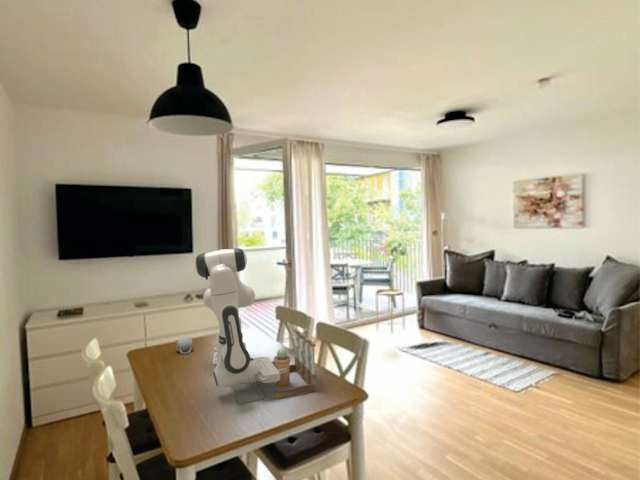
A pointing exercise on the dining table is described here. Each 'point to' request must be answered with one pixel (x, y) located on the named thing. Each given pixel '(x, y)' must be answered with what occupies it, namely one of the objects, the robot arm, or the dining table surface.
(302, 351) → the brown wooden frame
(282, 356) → the seedling pot
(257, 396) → the potting mat
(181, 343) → the ceramic mug
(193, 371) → the dining table surface
